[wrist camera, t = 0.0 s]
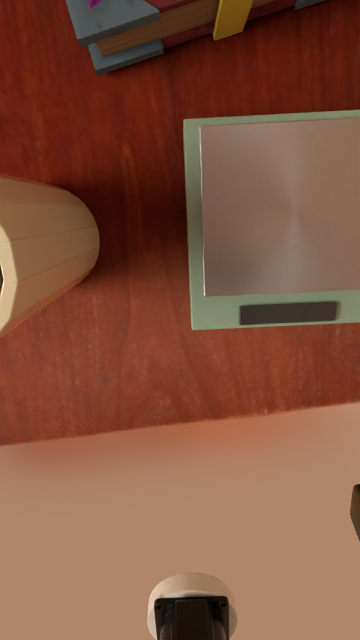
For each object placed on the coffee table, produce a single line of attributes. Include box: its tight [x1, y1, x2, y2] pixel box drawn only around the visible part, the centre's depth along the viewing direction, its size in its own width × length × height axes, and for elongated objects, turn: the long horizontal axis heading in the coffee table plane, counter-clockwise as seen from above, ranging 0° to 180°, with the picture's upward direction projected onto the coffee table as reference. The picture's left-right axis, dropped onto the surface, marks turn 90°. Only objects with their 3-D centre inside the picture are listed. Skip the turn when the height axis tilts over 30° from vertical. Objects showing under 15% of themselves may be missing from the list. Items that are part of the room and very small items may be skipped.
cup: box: [0, 173, 100, 338], centre depth 16 cm, size 7×7×12 cm
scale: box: [183, 110, 360, 330], centre depth 21 cm, size 12×12×3 cm
